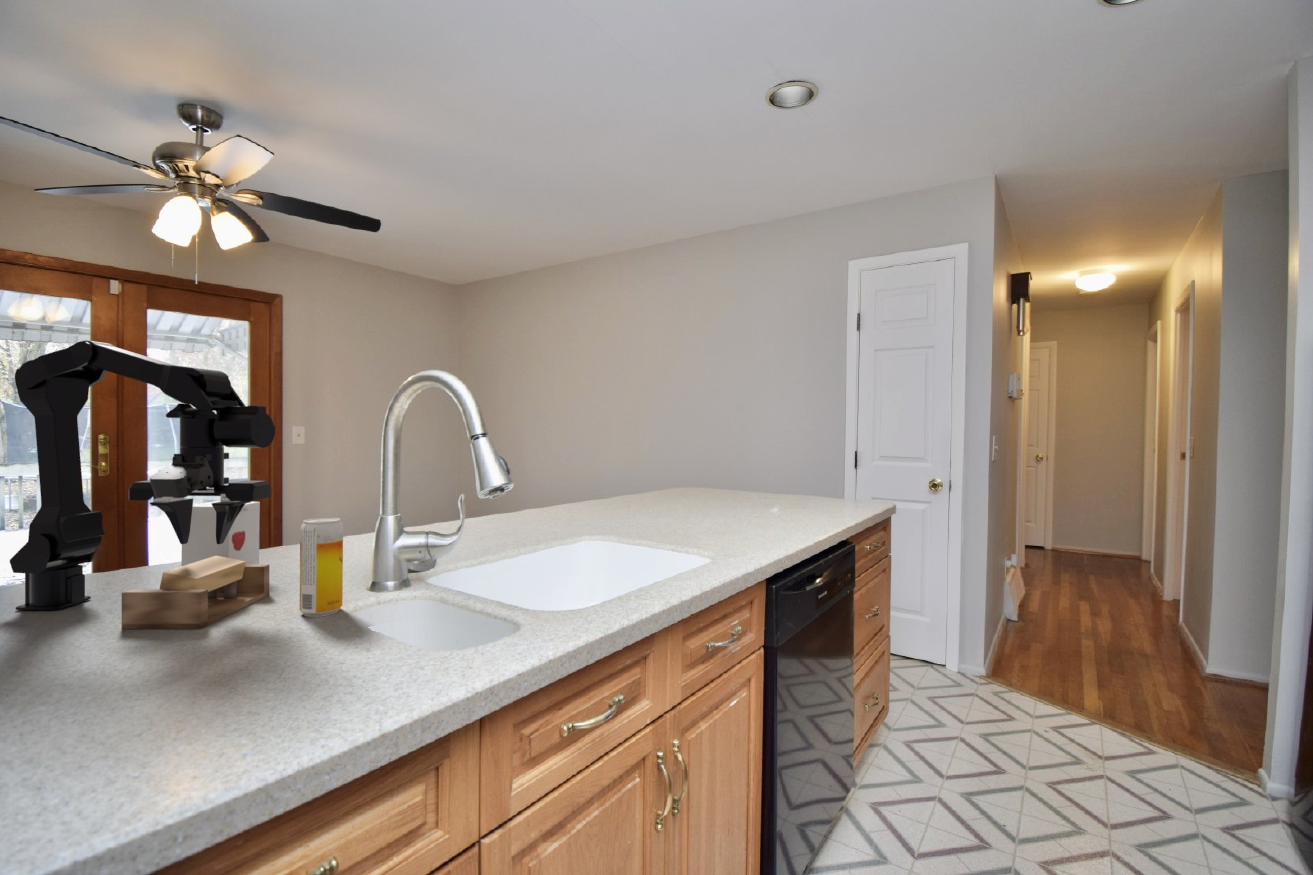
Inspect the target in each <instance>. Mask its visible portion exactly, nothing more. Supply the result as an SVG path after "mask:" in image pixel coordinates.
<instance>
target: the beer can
mask: <svg viewBox="0 0 1313 875" xmlns="http://www.w3.org/2000/svg"><path fill="white" fill-rule="evenodd" d="M299 535H300V536H299V611H300V613H302V614H303V616H305V617H308V618H309V617H310V618H320V617H326V616H327V617H328V616H332V615H334V614H336V613H338V612H339V610H340V609H341V607H343V589H344V588H343V587H344V586H343V581H344V580H343V578H344V576H343V571H344V569H343V568H344V567H343V566H344V564H343V562H344V561H343V560H344V554H343V553H344V525H343V523H342V521H341V518H340V517H329V516H328V517H314V518H308V519H307V518H306V519H304V520H302V524H301V526H300V529H299Z"/></svg>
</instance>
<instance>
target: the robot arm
mask: <svg viewBox="0 0 1313 875" xmlns="http://www.w3.org/2000/svg"><path fill="white" fill-rule="evenodd" d="M107 372H109V373H113V374H114V375H115V374H116V375H119V376H123V377H126V378H129V379H132V380H135V381H138V382H142V383H146V384H149V385H152V386H154V387H156V388H158V389H159V390H161V392H162V393H163V394H164V395H166V396H167V397H170V398H171V399H174V400H175V401H177V402H180V403H177V404H176V406H175V407H174V408H173V409H170V410H169V411H168V412H167V413H165V417H166V418H167V419H168V418H169V419H179V453H173V457H172V459H171V460H172V462H171V465H169V466H166V467H164V468H163V469H161V470H159V471H157V472H156V473H154V474H152V475H151V476H149V478H148V480H141V481H140V480H139V481H134V482H133V483H132V484H131V485H130V487H129V488H128V492H127V493H128V494H127V495H128V498H127V499H128V501H151V499H153V500H152V501H151V502H149V505H150V506H151V507H154V506H155V507H157V508H158V509H160V510H161V511H162V512H163V513H164V514H165V515H166V517H167V518H168V520H169V522H170V524H171V526H172V528H173V530H174V533H175V535H176V537H177V539H178V541H179V544H180V545H182V544H186V543H188V539H189V535H190V526H191V517H192V507H193V505H194V498H191V497H220V501H221V502H216V503H212V506H213V508H214V509H215V511H216V542H217V544H222V543H223V542H224V540H225V538H226V537H227V535H228V533H229V531H230V529H231V527H232V525H233V523H234V521H235V519H236V517H237V516H238V514H239V513H240V511H241V510H242V508H243V507H244V505H245V504H246V503H250V502H256V501H258V500H265V499H269V498H272V486H271V484H270V483H269V482H268V480H241V481H234V482H230V477H227V476H225V460H229V459H230V452H225V447H226V448H242V449H243V448H244V449H245V448H248V449H249V448H250V449H265V448H268V447H269V446H270V445H271V444H272V443H273V441H274V439H275V435H276V426H275V424H274V421H273V419H272V417H271V416H270V415H269V414H268V413H267V406H265V405H258V404H257V405H254V404H253V405H245V402H243V400H242V399H241V397H240V396H239V394H238V393H237V392H236V390H235V389H234V387H233V386H232V383H231V380H230V379H229V375H228V374H226V373H225V372H223V371H220V370H217V369H216V370H214V369H208V368H207V369H206V368H197V367H189V366H182V365H181V366H180V365H176V364H173V363H172V364H171V363H169V362H166V361H162V360H160V359H155V358H153V357H149V356H146V355H143V354H139V353H136V352H133V351H129V350H126V349H124V348H119V347H116V346H115V345H114V344H111V343H107V342H101V341H93V340H87V339H86V340H81V341H78V342H76V343H73V344H71V345H70V346H68V347H67V348H62V349H59V350H56V351H52V352H49V353H45V354H42V355H40V356H38V357H36V358H34V359H30V360H27V361H25V362H24V363H23V364H22V365H20V367H19V368H17V369H16V370H15V373H14V382H15V386H16V391H17V394H18V398H19V401H20V402H21V403H22V404H23V405H24V406H25V408H26V409H27V410H28V411H29V412H30V414H31V415H32V416H33V417H34V424H35V427H34V428H35V439H36V440H35V441H36V452H37V465H38V477H39V492H40V493H39V494H40V501H41V502H40V508H39V510H38V511H37V513H36V514H35V515H34V517H33V519H32V520H31V522H30V524H29V527H28V528H29V529H28V536H27V537H28V540H27V541H26V543H25V544H24V545H23V546H22V547H21V548H20V549H19V550H18V551H17V552H16V553H15V554H14V555H13V556H12V557H11V558H10V559H9V564H10V567H11V569H12V572H13V573H14V574H24V590H25V591H24V603H23V604H20V605H17V606H15V610H16V611H56V610H62V609H64V608H69V607H70V606H74V605H76V604H79V603H80V604H81V603H83V602H86V601H88V600H91V599H92V598H91V597H92V596H91V595H86V575H85V573H83V572H84V571H83V564H85V563H86V564H87V563H89V564H90V563H93V561H94V557H95V556H96V552H97V550H98V548H99V547H100V546H101V545H102V544H101V543H102V536H105V535H106V533H105V531H104V528H103V518H104V516H103V513H102V512H101V511H92V510H91V509H90V508H89V506H88V505H87V504H86V502H85V500H84V499H85V498H84V488H83V475H82V473H83V472H82V462H81V449H80V437H79V436H80V435H79V424H78V423H79V422H78V416H79V414H80V413H81V411H82V409H83V408H84V407H85V405H86V404H87V403H88V400H89V395H90V394H89V392H90V391H89V390H90V388H91V387H92V386H94V385H95V384H97V383H99V382H101V381H102V380H104V377H105V375H106V373H107ZM187 497H190V498H187Z"/></svg>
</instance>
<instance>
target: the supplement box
mask: <svg viewBox="0 0 1313 875" xmlns="http://www.w3.org/2000/svg"><path fill="white" fill-rule="evenodd" d="M216 502H221V500H215V501H208V502H202V503H195V504H194V503H193V507H192V517H191V526H190V535H189V539H188V543H186V544H181V563H180V564H181V566H185V565H188V564H191V563H194V562H197V561H200V560H204V559H207V558H210V557H213V556H221V557H226V558H231V559H236V560H241V561H246V562H245V564H260V520H261V519H260V516H261V515H260V514H261V513H260V512H261V509H260V508H261V507H260V506H261V504H260V503H261V502H260V501H251V502H250V503H246V504H245V505H244V507H243V508H242V510H241V511H240V513H239V514H238V516H237V517H236V519H235V521H234V523H233V525H232V527H231V529H230V531H229V533H228V535H227V537H226V538H225V540H224V542H223V543H222V544H217V542H216V511H215V509H214V508H213V506H212V503H216ZM181 566H180V567H181Z"/></svg>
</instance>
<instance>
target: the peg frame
mask: <svg viewBox="0 0 1313 875" xmlns="http://www.w3.org/2000/svg"><path fill="white" fill-rule="evenodd" d="M267 596H270V564H260V563H259V564H245V567H244V572H243V577H242V579H240V580H237V581H234V582H232V583H229V584H227V585H224V586H222V587H219V588H217V589H214V590H212V591H209V592H208V590H170V589H160V588H159V589H157V588H156V589H150V588H149V589H145V588H144V589H142V588H139V589H128V590H127V589H126V591H122V592H121V630H200V629H201V630H202V629H203V628H205V627H208V626H209V625H211V624H213V623H216V622H217V621H219V620H221V619H223V618H225V617H228V616H229V615H231V614H233V613H235V612H238V611H240V610H242V609H244V608H246V607H248V606H249V605H252V604H254V603H256V602H257V601H259V600H262V599H264V598H266V597H267Z"/></svg>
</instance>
